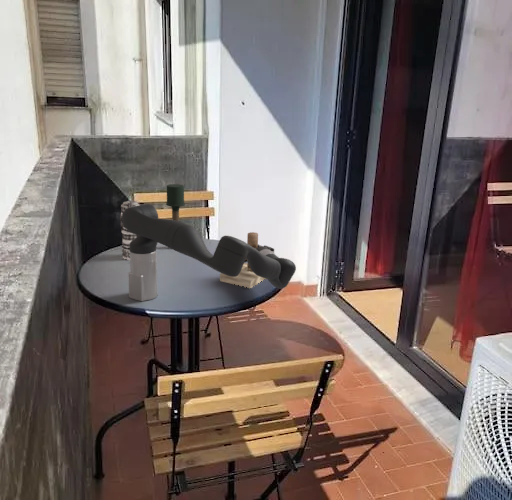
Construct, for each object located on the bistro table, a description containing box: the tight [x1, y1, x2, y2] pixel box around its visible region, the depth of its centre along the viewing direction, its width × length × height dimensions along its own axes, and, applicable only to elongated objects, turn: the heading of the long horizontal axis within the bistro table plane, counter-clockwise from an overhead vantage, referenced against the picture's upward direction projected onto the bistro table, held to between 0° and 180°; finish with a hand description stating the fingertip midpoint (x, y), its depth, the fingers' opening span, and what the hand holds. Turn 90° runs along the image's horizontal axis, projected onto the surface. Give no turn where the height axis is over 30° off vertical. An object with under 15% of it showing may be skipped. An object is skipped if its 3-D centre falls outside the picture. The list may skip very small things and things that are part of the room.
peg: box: [246, 231, 259, 268], centre depth 197 cm, size 4×4×14 cm
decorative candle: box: [119, 200, 140, 261], centre depth 214 cm, size 9×9×25 cm
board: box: [219, 262, 267, 289], centre depth 197 cm, size 17×14×3 cm
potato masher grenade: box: [165, 183, 186, 221], centre depth 228 cm, size 8×9×30 cm
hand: (250, 246), depth 199 cm, fingers closed on peg, 4 cm apart
